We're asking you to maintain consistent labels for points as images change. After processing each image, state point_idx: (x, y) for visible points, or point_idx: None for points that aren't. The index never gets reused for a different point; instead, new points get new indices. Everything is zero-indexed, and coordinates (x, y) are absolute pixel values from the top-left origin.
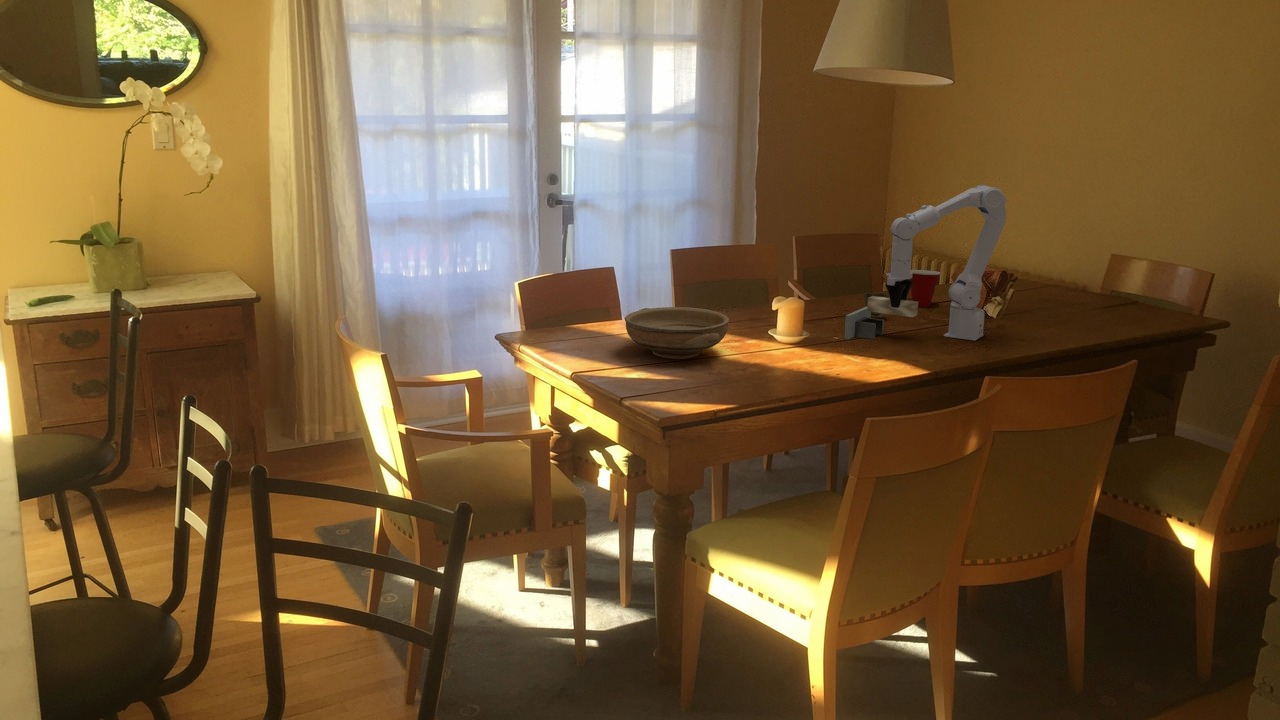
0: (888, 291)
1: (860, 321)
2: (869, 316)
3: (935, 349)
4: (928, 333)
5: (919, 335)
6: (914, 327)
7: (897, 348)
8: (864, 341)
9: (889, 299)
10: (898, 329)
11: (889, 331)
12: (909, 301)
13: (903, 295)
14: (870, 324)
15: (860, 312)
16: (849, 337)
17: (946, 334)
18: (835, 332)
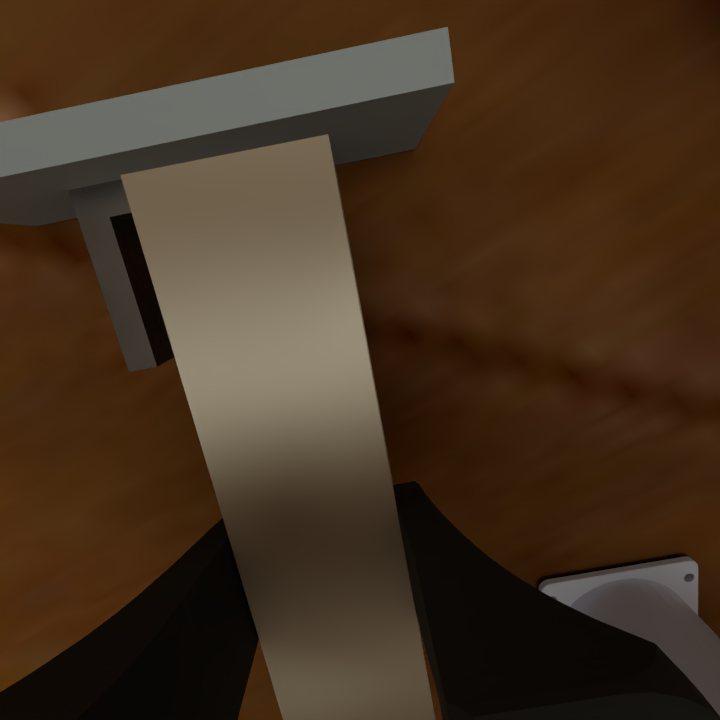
0: (40, 674)
1: (124, 215)
2: (402, 124)
3: (258, 673)
4: (566, 485)
5: (482, 476)
6: (671, 344)
7: (116, 549)
8: (88, 334)
9: (289, 475)
10: (547, 301)
11: (451, 291)
12: (376, 686)
13: (427, 642)
14: (120, 336)
15: (143, 152)
16: (48, 221)
17: (563, 592)
18: (125, 8)
